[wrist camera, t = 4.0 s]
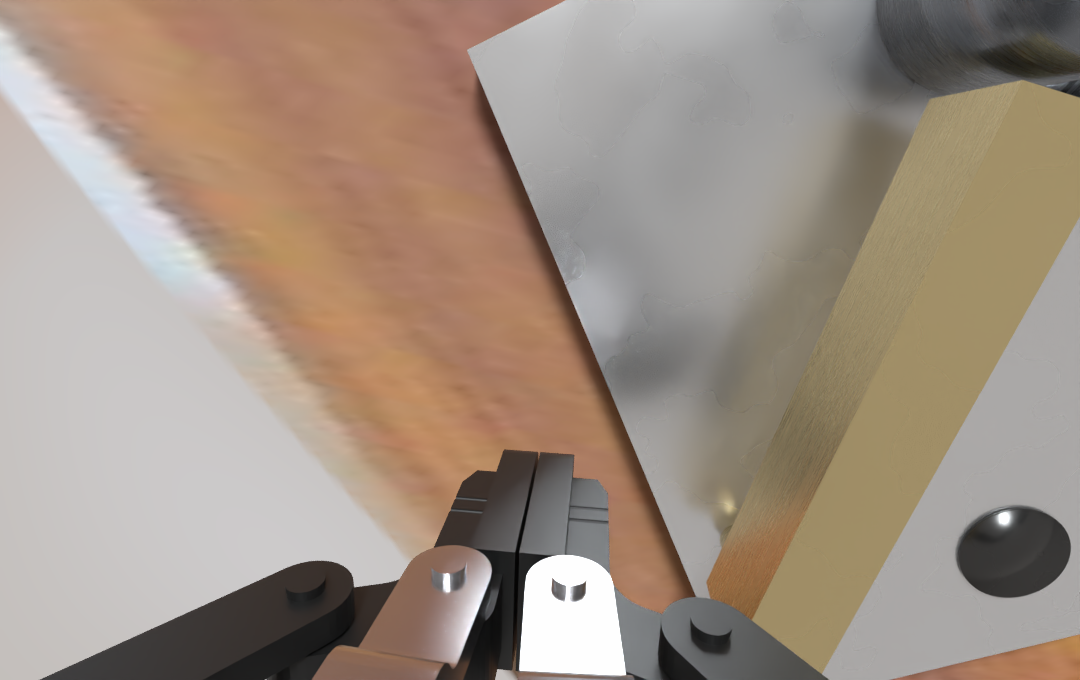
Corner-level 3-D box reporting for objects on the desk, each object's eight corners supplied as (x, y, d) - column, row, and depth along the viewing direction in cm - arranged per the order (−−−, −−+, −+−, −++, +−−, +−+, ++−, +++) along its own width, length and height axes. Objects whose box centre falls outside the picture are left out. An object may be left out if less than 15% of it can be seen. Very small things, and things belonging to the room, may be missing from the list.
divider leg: (897, 105, 12) (1022, 79, 8) (977, 130, 12) (1136, 115, 8) (698, 550, 15) (728, 667, 11) (760, 569, 15) (810, 694, 11)
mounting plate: (1422, -411, 10) (2178, -942, 5) (1479, 498, 14) (1939, 672, 9) (476, 58, 13) (407, -2, 9) (737, 683, 17) (789, 881, 13)
